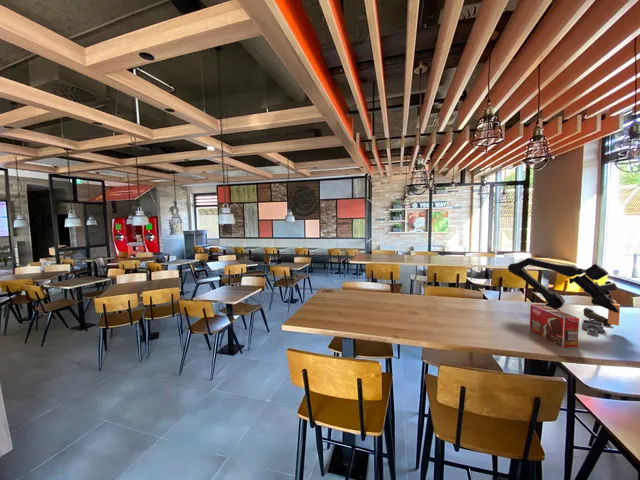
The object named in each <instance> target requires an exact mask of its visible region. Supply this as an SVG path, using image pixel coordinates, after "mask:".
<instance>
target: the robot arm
mask: <svg viewBox="0 0 640 480" xmlns="http://www.w3.org/2000/svg"><path fill="white" fill-rule="evenodd" d="M528 266H531V267H538V268H541V269H545V270H549V271H553V272H556V273H559V274H560V275H562V276H565V277H568V278H569V282H568V284H569V285H570V284H573V283H575V284H576V285H577V286H578V287H579V288H580V289H582V290H583V292H584V293H586V294H588V295H589V296H590V298H591V300H590V301H591V302H590V303H591V304H592V305H593V306H600V307H602V308H603V309H607V310H608V309H609V310H611V311H613V312H616V313H618V312H619V311H618V310H617V309H616V307H615V306H614V305H613V304H612V303H615V302H614V301H613V299H612V298H613V296H612V295H613V294H612V291H613V292H614V291H618V290H619V288H618V286H617V283H615V282H612V281H610V280H607V281H605V283H603V284H598V283H596V282H594V281H599V280H601V279H602V278H605V277H606V276H608V275H609V272H608V271H607V270H606V269H605V268H603V267H601V266H600V265H598V264H597V263H594V264H592V265H591V266H590V267H588V268H586V269H585V268H579V267H577V266H575V265H573V264H562V263H561V264H560V263H559V264H558V263H553V262H548V261H544V260H541V259H540V260H539V259H536V258H532V257H527V258H525V259H523V260H521V261H519V262H513V263H511V264H509V265H508V266H507V270H508V272H510V273H511V274H512V275H514V276H516V277H518V278H521V280H524V282H525V283H527V284H528V285H529V286H530V287H532V288H533V289H534V290H535V291H536V292H538V293H539V294H540V295H541V296H542V297H543V298H544V300H545V302H546V304H544V305H546V306H549V307H551V308H554V309H556V310H559V311H561V309H560V308H562V307H563V306H564V305H565V304H566V300H565V299H564V296H562V295H561V294H560V293H558V292H557V291H555V292H553V291H551V290H549V289H548V288H546V287H545V286H544V285H543V284H542V283H541V282H539V281H538V280H537V279H536V278H535V277H533V276H532V275H531V274H530V273H528V272H527V270H526V268H525V267H528Z"/></svg>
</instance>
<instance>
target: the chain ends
mask: <svg viewBox="0 0 640 480" xmlns="http://www.w3.org/2000/svg"><path fill="white" fill-rule="evenodd" d="M581 321H582V322H581V329H583V330H586V334H587V335H591V336H592V335H593V336H596V337H598V333H602V334H604V325H603V323H600V322H598V321H597V320H595V319H593V318H588V319H585V318H584V319H583V318H582V320H581Z"/></svg>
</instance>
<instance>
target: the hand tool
mask: <svg viewBox="0 0 640 480" xmlns="http://www.w3.org/2000/svg"><path fill="white" fill-rule="evenodd" d="M582 312H583V315H584V316H586V317H587V318H590V317H591V318H590V319H595V320H596V322H600V323H603V326H608V327H610V326H612V324H608V317H607V318H606V316H604V315H600V314H598V313H596V312H594V310H592V309H591V308H588V307H585V308H583V311H582Z"/></svg>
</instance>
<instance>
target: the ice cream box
mask: <svg viewBox="0 0 640 480" xmlns="http://www.w3.org/2000/svg"><path fill="white" fill-rule="evenodd" d="M529 310H530V312H529V313H530V314H529V330H530V331H532V332H533V333H535V334H537V335H539V336H541V337H543V338H545V339H547V340H548V341H550V342H552V343H554V342H555V343H556V344H555V343H554V344H555V345H557V344H558V346H559V345H560V346H559V347H561V346H562V347H561V348H568V347H578V348H579V345H578V344H579V332H580V331H579V329H580V328H579V327H580V317H576V316H574V315H571V314H569V313H566V312H564V311H561V310H560V309H559V310H560V311H559V310H556V309H554V308H551V307H549V306H546V305H545V304H542V303H541V304H539V303H538V304H534V303H533V304H530V309H529Z"/></svg>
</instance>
